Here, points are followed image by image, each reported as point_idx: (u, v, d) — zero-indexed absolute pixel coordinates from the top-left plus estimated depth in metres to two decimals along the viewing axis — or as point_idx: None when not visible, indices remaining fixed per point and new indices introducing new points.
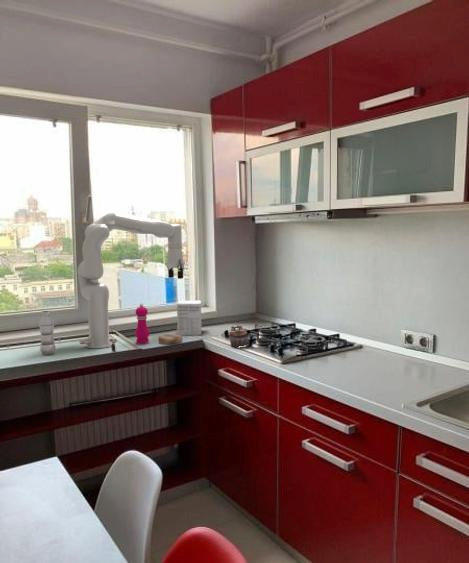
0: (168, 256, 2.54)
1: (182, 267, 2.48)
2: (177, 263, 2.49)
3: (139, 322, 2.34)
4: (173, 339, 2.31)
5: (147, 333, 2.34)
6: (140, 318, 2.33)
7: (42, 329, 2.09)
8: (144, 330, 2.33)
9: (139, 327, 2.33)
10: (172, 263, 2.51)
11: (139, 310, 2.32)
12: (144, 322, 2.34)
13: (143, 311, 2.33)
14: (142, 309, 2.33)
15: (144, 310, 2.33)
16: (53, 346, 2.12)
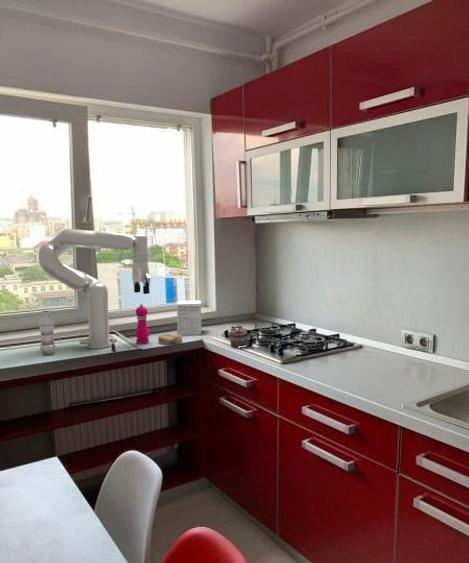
0: (133, 269, 2.34)
1: (148, 281, 2.28)
2: (142, 277, 2.29)
3: (139, 322, 2.34)
4: (173, 339, 2.31)
5: (147, 333, 2.34)
6: (140, 318, 2.33)
7: (42, 329, 2.09)
8: (144, 330, 2.33)
9: (139, 327, 2.33)
10: (137, 277, 2.31)
11: (139, 310, 2.32)
12: (144, 322, 2.34)
13: (143, 311, 2.33)
14: (142, 309, 2.33)
15: (144, 310, 2.33)
16: (53, 346, 2.12)
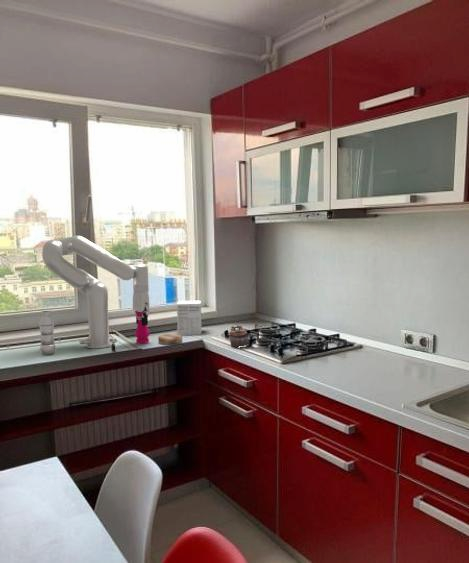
0: (134, 299, 2.35)
1: (146, 314, 2.31)
2: (143, 307, 2.30)
3: (139, 322, 2.34)
4: (173, 339, 2.31)
5: (147, 333, 2.34)
6: (140, 318, 2.33)
7: (42, 329, 2.09)
8: (144, 330, 2.33)
9: (139, 327, 2.33)
10: (137, 307, 2.32)
11: None
12: None
13: None
14: None
15: (144, 310, 2.33)
16: (53, 346, 2.12)
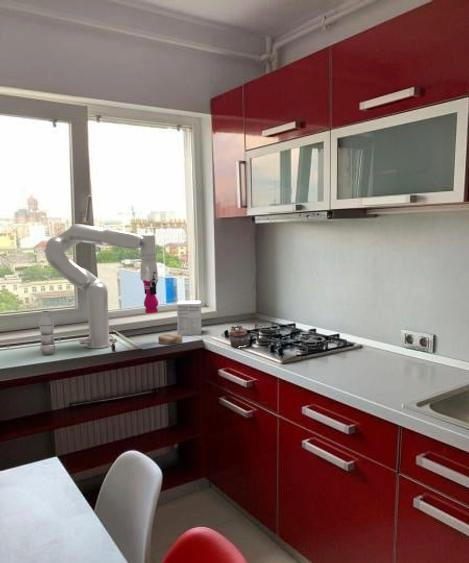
0: (141, 268, 2.34)
1: (154, 283, 2.29)
2: (151, 276, 2.29)
3: (147, 292, 2.33)
4: (173, 339, 2.31)
5: (156, 302, 2.33)
6: (148, 287, 2.32)
7: (42, 329, 2.09)
8: (153, 299, 2.32)
9: (148, 297, 2.32)
10: (146, 276, 2.31)
11: None
12: None
13: (151, 280, 2.31)
14: None
15: (152, 279, 2.32)
16: (53, 346, 2.12)
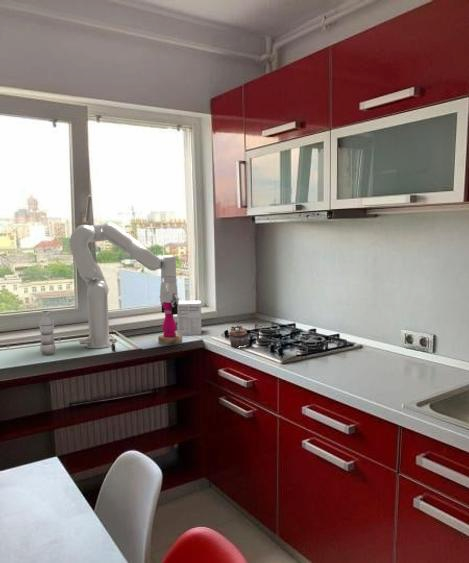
0: (161, 290, 2.34)
1: (176, 302, 2.28)
2: (171, 298, 2.29)
3: (166, 316, 2.33)
4: (173, 339, 2.31)
5: (174, 327, 2.34)
6: (167, 312, 2.32)
7: (42, 329, 2.09)
8: (172, 323, 2.33)
9: (167, 321, 2.33)
10: (166, 298, 2.31)
11: (167, 304, 2.32)
12: (171, 316, 2.34)
13: (171, 305, 2.32)
14: (169, 303, 2.32)
15: (171, 304, 2.32)
16: (53, 346, 2.12)
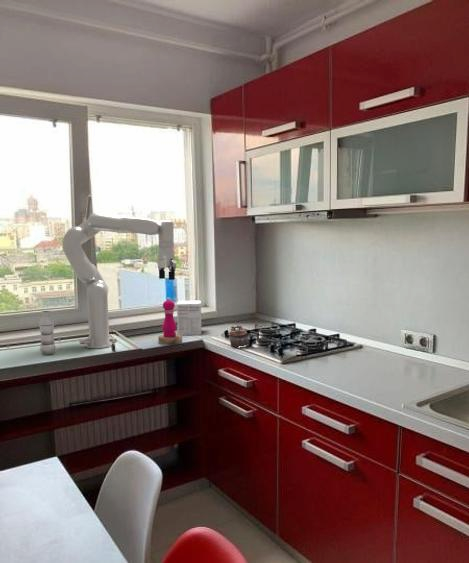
0: (159, 255, 2.33)
1: (173, 267, 2.27)
2: (168, 263, 2.28)
3: (166, 316, 2.33)
4: (173, 339, 2.31)
5: (174, 327, 2.34)
6: (167, 312, 2.32)
7: (42, 329, 2.09)
8: (172, 323, 2.33)
9: (167, 321, 2.33)
10: (163, 263, 2.30)
11: (166, 304, 2.32)
12: (171, 316, 2.34)
13: (170, 305, 2.32)
14: (169, 303, 2.32)
15: (171, 304, 2.32)
16: (53, 346, 2.12)
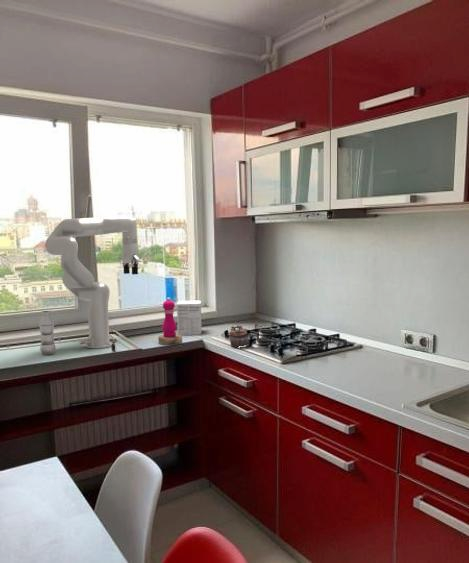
0: (123, 251, 2.46)
1: (136, 262, 2.40)
2: (131, 258, 2.41)
3: (166, 316, 2.33)
4: (173, 339, 2.31)
5: (174, 327, 2.34)
6: (167, 312, 2.32)
7: (42, 329, 2.09)
8: (172, 323, 2.33)
9: (167, 321, 2.33)
10: (126, 258, 2.43)
11: (167, 304, 2.32)
12: (171, 316, 2.34)
13: (170, 305, 2.32)
14: (169, 303, 2.32)
15: (171, 304, 2.33)
16: (53, 346, 2.12)
